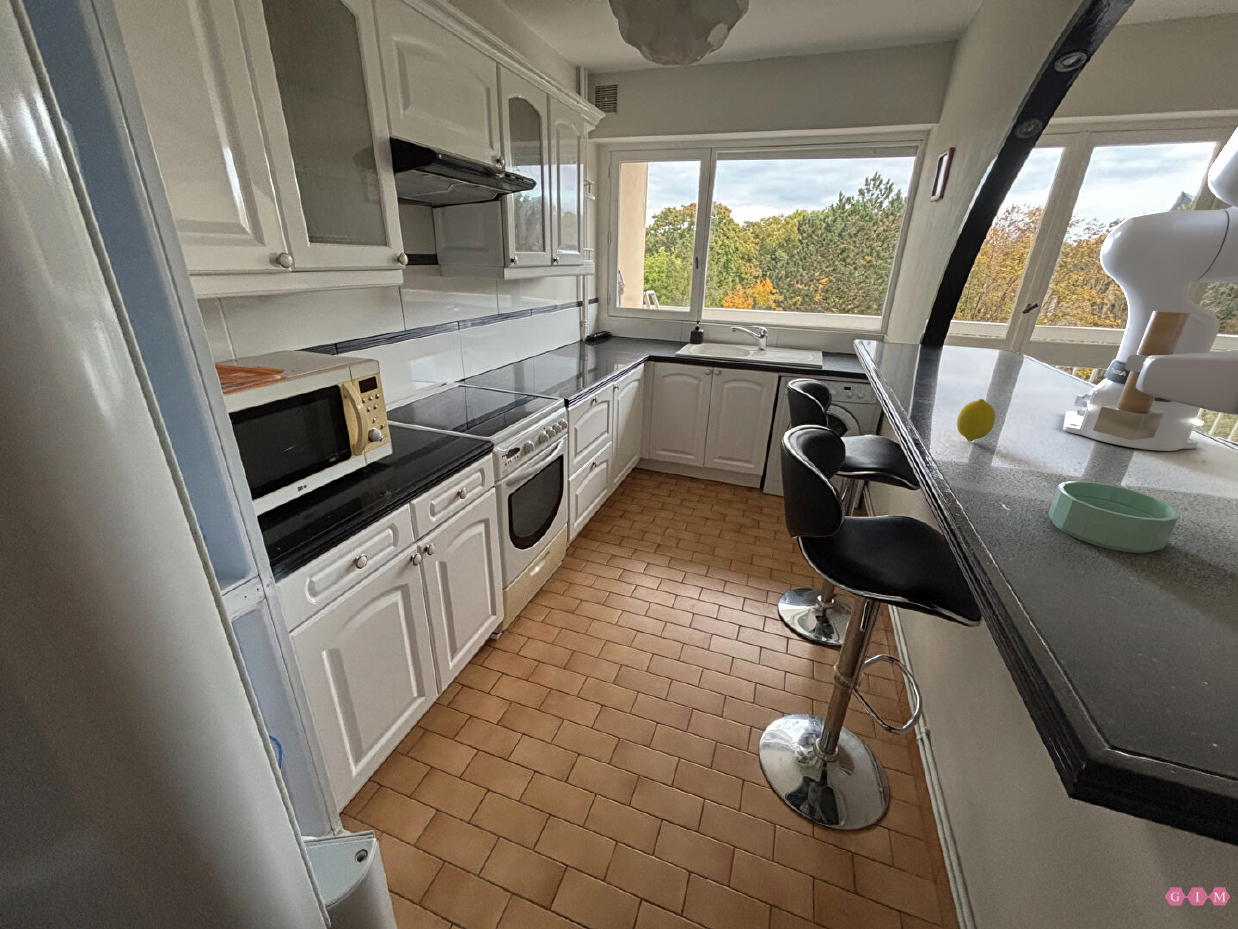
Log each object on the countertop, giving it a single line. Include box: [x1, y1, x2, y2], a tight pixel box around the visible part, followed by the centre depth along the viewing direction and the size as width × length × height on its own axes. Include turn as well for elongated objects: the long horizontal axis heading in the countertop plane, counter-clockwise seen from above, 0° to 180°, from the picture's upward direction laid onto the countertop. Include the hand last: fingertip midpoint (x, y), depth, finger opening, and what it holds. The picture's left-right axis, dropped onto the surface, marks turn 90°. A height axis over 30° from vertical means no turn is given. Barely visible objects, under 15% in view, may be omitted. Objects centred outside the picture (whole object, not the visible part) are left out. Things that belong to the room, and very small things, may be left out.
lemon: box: [956, 398, 996, 442], centre depth 92 cm, size 6×6×8 cm
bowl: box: [1047, 480, 1181, 554], centre depth 61 cm, size 11×11×4 cm
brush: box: [1093, 311, 1190, 440], centre depth 58 cm, size 4×4×14 cm
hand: (1141, 360), depth 58 cm, fingers closed on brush, 3 cm apart
